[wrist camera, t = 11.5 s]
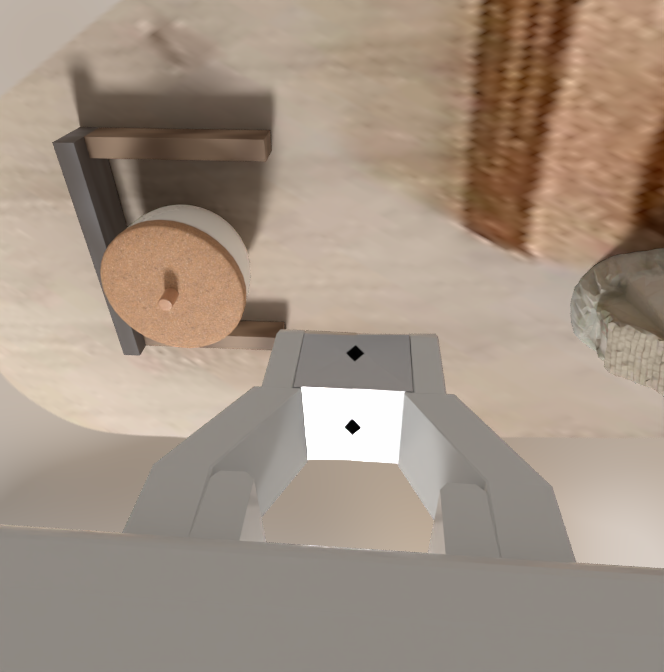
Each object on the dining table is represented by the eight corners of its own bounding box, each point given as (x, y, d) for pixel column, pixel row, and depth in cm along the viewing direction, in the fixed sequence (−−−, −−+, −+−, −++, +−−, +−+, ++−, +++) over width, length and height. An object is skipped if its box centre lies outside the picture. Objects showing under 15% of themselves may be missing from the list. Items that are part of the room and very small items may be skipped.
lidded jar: (114, 207, 41) (56, 262, 33) (227, 166, 38) (192, 215, 30) (179, 309, 47) (143, 374, 39) (282, 279, 44) (263, 344, 36)
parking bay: (269, 130, 36) (260, 146, 33) (285, 334, 48) (279, 361, 44) (79, 127, 37) (52, 142, 34) (140, 329, 48) (124, 354, 45)
